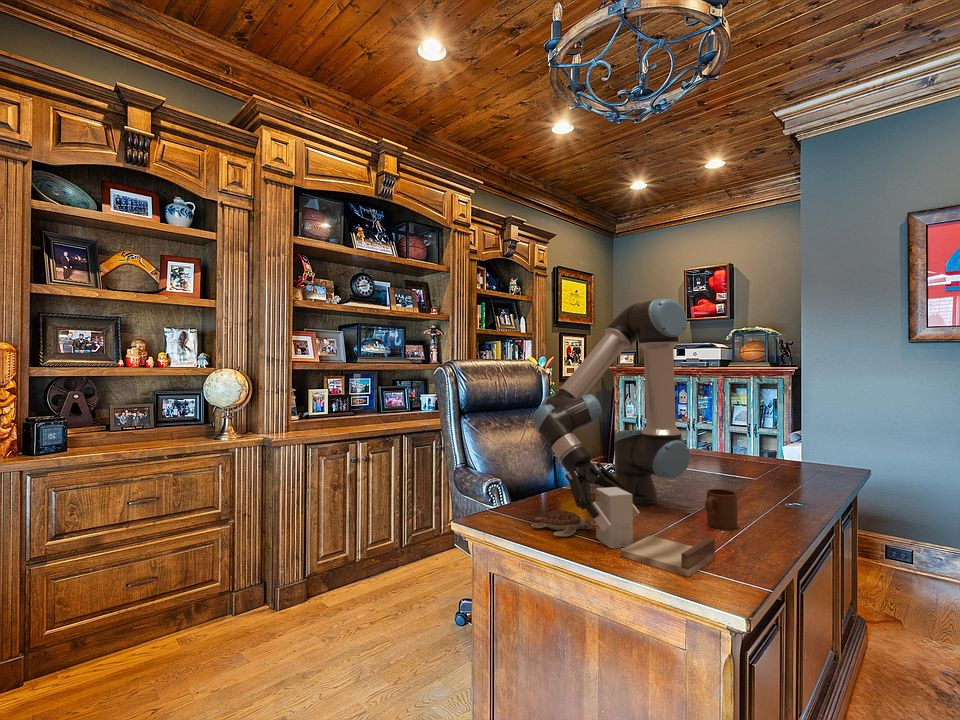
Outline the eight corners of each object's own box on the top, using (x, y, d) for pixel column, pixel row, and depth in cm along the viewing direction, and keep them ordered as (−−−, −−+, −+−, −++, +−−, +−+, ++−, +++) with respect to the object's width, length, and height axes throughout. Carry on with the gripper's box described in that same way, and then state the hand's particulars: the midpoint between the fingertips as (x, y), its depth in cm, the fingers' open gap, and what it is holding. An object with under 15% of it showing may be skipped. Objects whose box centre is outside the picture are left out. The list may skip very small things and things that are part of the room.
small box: (633, 547, 123) (633, 494, 123) (610, 549, 121) (609, 495, 121) (617, 536, 131) (617, 486, 131) (595, 538, 129) (594, 487, 129)
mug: (721, 536, 130) (721, 500, 130) (693, 528, 136) (693, 494, 136) (742, 526, 137) (742, 492, 137) (715, 520, 143) (714, 487, 143)
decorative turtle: (591, 543, 126) (591, 523, 127) (527, 537, 131) (526, 518, 131) (595, 521, 144) (595, 504, 144) (538, 517, 149) (538, 500, 149)
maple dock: (620, 556, 117) (620, 537, 117) (649, 541, 126) (649, 523, 126) (688, 576, 105) (688, 555, 105) (714, 558, 115) (714, 539, 115)
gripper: (589, 456, 146) (637, 519, 135) (534, 469, 129) (584, 542, 118) (605, 440, 142) (655, 503, 131) (550, 451, 125) (603, 524, 114)
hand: (622, 521), depth 124 cm, fingers open, 13 cm apart
